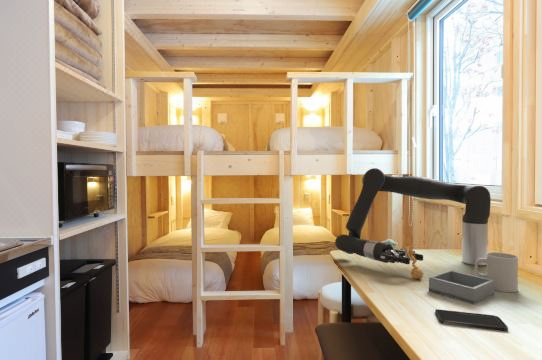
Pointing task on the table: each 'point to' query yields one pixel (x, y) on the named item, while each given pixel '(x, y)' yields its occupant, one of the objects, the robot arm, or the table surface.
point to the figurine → (415, 271)
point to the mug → (500, 271)
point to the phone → (471, 320)
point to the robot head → (391, 243)
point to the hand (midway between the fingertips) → (416, 259)
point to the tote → (461, 286)
